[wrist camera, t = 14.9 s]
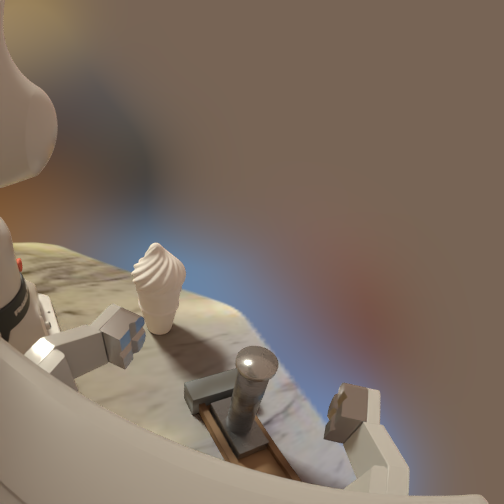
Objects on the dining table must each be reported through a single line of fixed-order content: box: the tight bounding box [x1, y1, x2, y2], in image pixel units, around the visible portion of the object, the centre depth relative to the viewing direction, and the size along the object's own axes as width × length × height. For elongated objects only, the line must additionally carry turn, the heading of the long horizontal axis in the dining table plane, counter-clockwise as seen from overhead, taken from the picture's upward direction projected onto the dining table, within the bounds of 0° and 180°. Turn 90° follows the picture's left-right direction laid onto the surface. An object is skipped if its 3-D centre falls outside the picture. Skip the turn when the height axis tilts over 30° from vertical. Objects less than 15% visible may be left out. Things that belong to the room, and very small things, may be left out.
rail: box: [184, 368, 302, 482], centre depth 30 cm, size 32×8×4 cm, turn 29°
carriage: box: [210, 346, 278, 459], centre depth 32 cm, size 8×4×15 cm, turn 29°
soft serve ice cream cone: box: [131, 243, 186, 335], centre depth 48 cm, size 8×8×16 cm
